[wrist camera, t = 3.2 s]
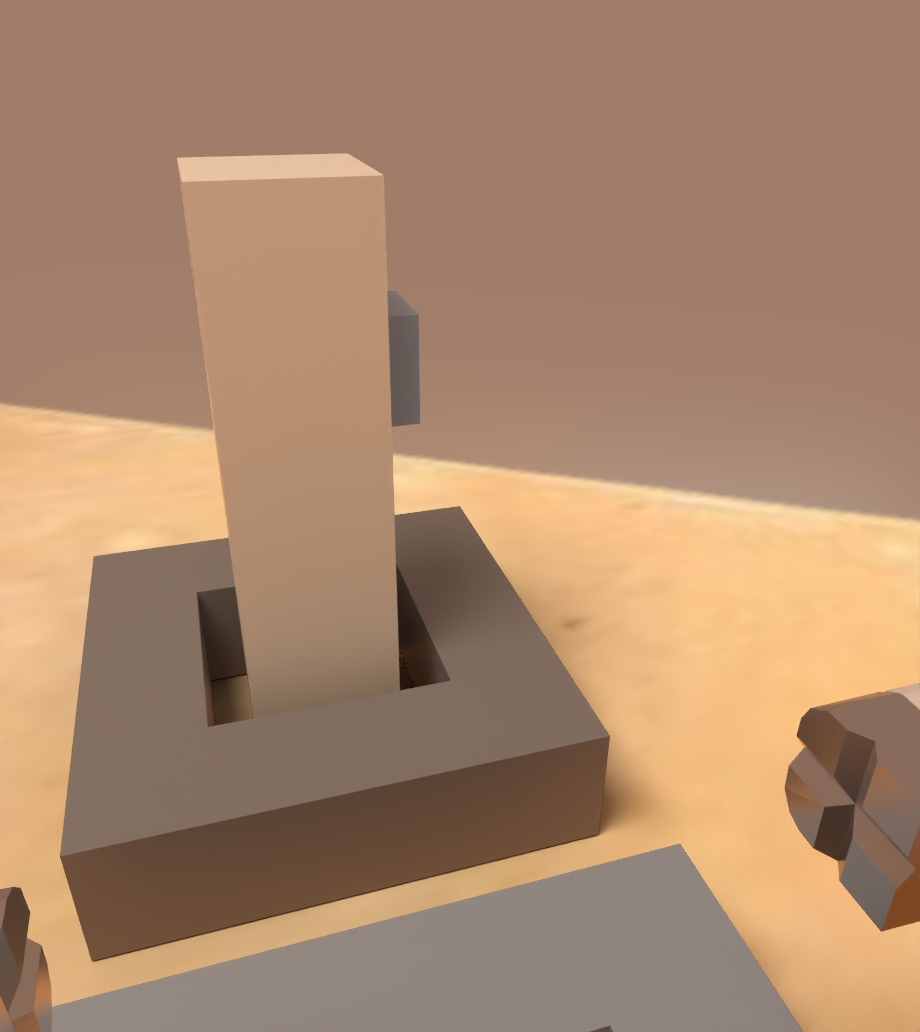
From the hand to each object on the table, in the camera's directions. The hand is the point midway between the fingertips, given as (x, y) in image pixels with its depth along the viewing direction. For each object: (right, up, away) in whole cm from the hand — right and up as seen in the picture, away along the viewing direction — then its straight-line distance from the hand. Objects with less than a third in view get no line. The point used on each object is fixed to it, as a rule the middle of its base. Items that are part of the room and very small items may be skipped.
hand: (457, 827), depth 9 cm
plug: (-4, -2, +14) cm, 15 cm away
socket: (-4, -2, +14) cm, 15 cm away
